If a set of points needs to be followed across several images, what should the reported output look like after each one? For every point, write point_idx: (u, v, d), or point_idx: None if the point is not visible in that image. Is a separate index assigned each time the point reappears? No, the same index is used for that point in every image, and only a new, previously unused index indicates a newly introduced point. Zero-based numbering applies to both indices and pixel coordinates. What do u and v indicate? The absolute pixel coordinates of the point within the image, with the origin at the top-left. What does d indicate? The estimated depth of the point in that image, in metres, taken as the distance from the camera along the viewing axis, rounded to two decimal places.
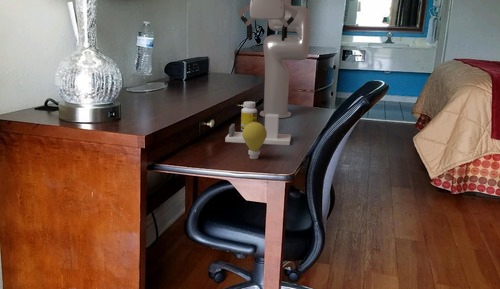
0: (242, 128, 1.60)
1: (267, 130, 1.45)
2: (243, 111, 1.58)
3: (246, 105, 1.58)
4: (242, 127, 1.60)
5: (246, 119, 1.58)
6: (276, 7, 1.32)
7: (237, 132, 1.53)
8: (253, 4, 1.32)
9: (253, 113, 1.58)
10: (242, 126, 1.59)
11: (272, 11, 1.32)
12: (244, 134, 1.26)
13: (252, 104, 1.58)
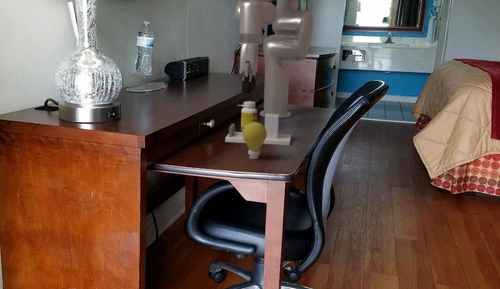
0: (242, 128, 1.60)
1: (267, 130, 1.45)
2: (243, 111, 1.58)
3: (246, 105, 1.58)
4: (242, 127, 1.60)
5: (246, 119, 1.58)
6: (257, 63, 1.58)
7: (237, 132, 1.53)
8: (254, 62, 1.51)
9: (253, 113, 1.58)
10: (242, 126, 1.59)
11: (256, 67, 1.57)
12: (244, 134, 1.26)
13: (252, 104, 1.58)
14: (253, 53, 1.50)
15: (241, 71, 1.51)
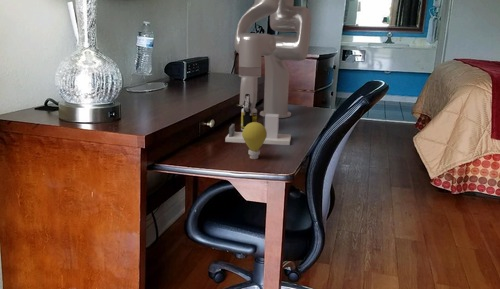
0: (242, 128, 1.60)
1: (267, 130, 1.45)
2: (243, 111, 1.58)
3: None
4: (242, 127, 1.60)
5: None
6: None
7: (237, 132, 1.53)
8: (254, 95, 1.54)
9: (253, 113, 1.58)
10: (242, 126, 1.59)
11: (256, 98, 1.60)
12: (244, 134, 1.26)
13: None
14: (253, 86, 1.53)
15: (241, 104, 1.54)
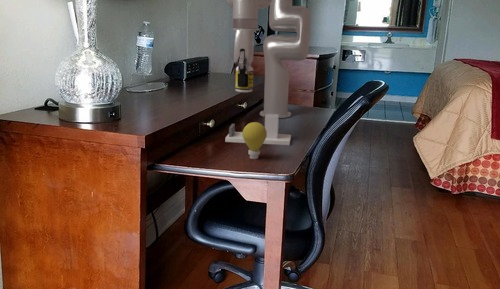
0: (237, 88, 1.44)
1: (267, 130, 1.45)
2: None
3: None
4: (237, 87, 1.44)
5: None
6: (253, 51, 1.45)
7: (237, 132, 1.53)
8: (250, 50, 1.38)
9: (248, 71, 1.41)
10: (237, 86, 1.43)
11: (252, 55, 1.44)
12: (244, 134, 1.26)
13: None
14: (248, 40, 1.37)
15: (235, 60, 1.38)
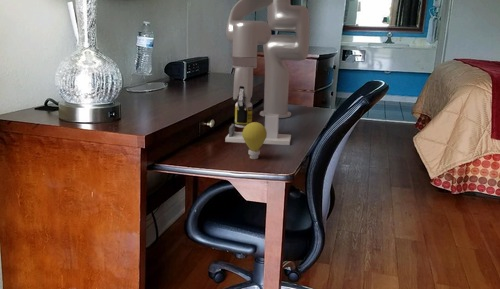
0: (236, 124, 1.46)
1: (267, 130, 1.45)
2: (237, 105, 1.45)
3: None
4: (236, 123, 1.46)
5: None
6: (252, 87, 1.47)
7: (237, 132, 1.53)
8: (249, 87, 1.41)
9: (248, 107, 1.44)
10: (236, 121, 1.46)
11: (251, 91, 1.47)
12: (244, 134, 1.26)
13: None
14: (247, 78, 1.40)
15: (235, 97, 1.41)
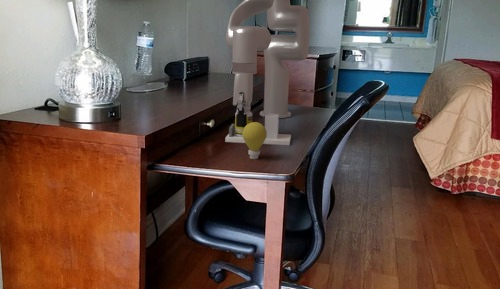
0: (236, 133, 1.47)
1: (267, 130, 1.45)
2: None
3: None
4: (236, 132, 1.47)
5: None
6: (252, 93, 1.48)
7: None
8: (249, 93, 1.41)
9: (248, 117, 1.45)
10: (236, 130, 1.47)
11: (251, 97, 1.47)
12: (244, 134, 1.26)
13: (247, 107, 1.45)
14: (247, 84, 1.40)
15: (235, 103, 1.41)
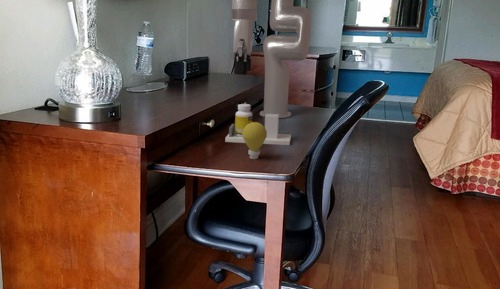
0: (236, 133, 1.47)
1: (267, 130, 1.45)
2: (237, 115, 1.46)
3: (240, 108, 1.45)
4: (236, 132, 1.47)
5: (241, 124, 1.46)
6: (252, 42, 1.46)
7: None
8: (249, 40, 1.40)
9: (248, 117, 1.45)
10: (236, 130, 1.47)
11: None
12: (244, 134, 1.26)
13: (247, 107, 1.45)
14: (247, 30, 1.38)
15: (235, 50, 1.40)
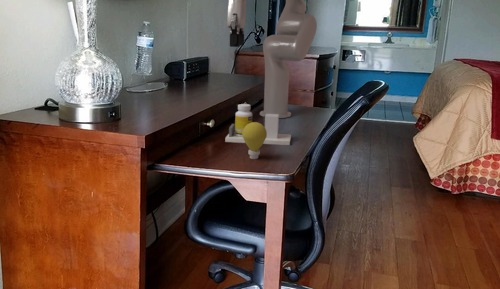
0: (236, 133, 1.47)
1: (267, 130, 1.45)
2: (237, 115, 1.46)
3: (240, 108, 1.45)
4: (236, 132, 1.47)
5: (241, 124, 1.46)
6: None
7: None
8: (242, 15, 1.51)
9: (248, 117, 1.45)
10: (236, 130, 1.47)
11: (244, 21, 1.57)
12: (244, 134, 1.26)
13: (247, 107, 1.45)
14: (240, 5, 1.50)
15: (228, 24, 1.51)
